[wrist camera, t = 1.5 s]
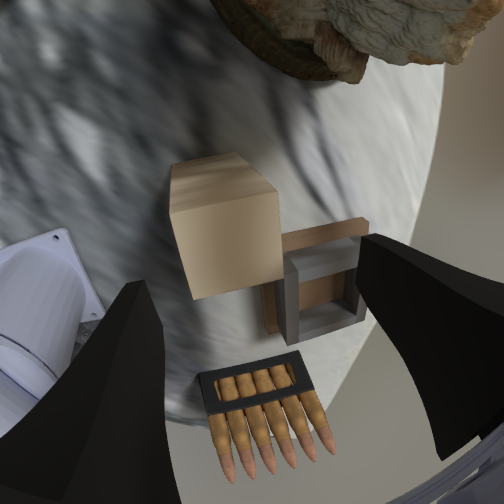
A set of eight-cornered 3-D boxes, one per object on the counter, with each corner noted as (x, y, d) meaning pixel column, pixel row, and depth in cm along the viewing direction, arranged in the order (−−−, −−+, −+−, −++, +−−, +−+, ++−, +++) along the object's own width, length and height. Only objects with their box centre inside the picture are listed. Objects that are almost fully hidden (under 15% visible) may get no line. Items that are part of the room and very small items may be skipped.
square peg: (184, 222, 19) (193, 299, 12) (171, 164, 16) (169, 214, 10) (243, 209, 19) (283, 278, 13) (235, 151, 17) (277, 191, 10)
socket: (265, 326, 25) (276, 355, 23) (254, 240, 21) (269, 266, 18) (353, 300, 27) (371, 323, 24) (362, 216, 22) (387, 236, 19)
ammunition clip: (200, 382, 28) (223, 487, 18) (197, 373, 27) (219, 483, 17) (297, 360, 30) (342, 453, 20) (298, 349, 29) (346, 447, 19)
